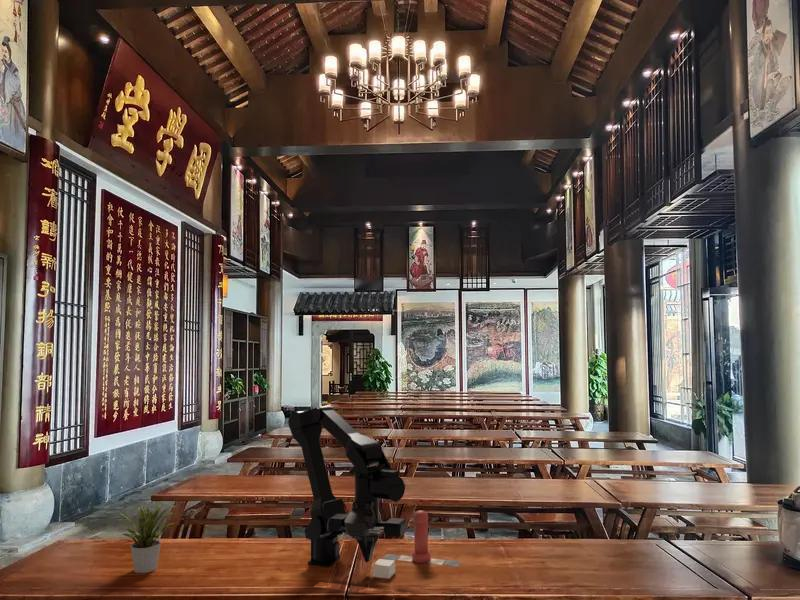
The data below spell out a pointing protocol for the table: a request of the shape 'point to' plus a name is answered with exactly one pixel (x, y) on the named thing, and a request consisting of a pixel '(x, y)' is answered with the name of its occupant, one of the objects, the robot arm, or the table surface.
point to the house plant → (146, 539)
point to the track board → (432, 561)
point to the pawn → (421, 538)
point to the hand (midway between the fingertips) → (367, 561)
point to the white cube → (384, 568)
